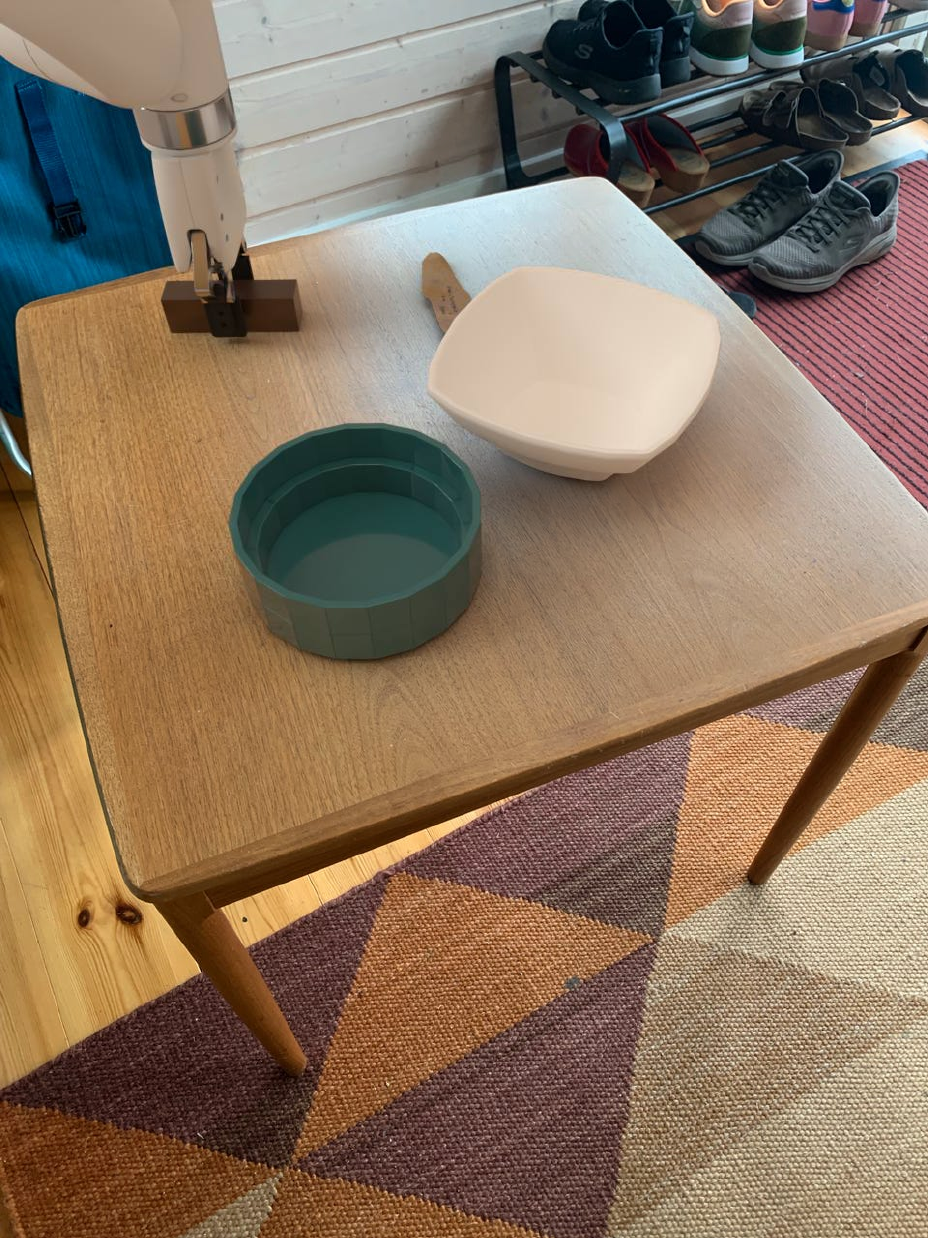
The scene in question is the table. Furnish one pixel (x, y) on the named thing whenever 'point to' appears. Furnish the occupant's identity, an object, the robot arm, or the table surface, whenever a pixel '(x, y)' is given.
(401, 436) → the mixing bowl
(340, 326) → the table surface
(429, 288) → the stone tool
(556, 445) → the bowl
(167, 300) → the brown wooden block
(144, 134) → the robot arm
